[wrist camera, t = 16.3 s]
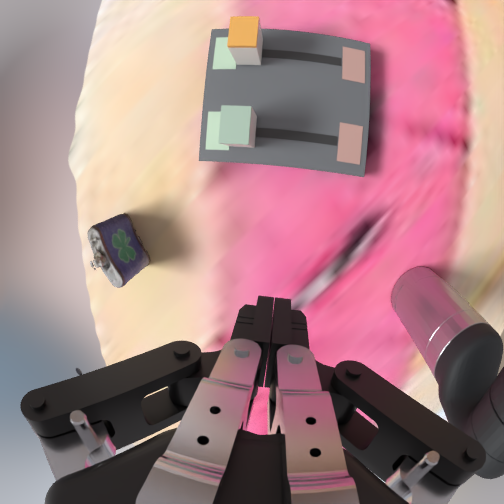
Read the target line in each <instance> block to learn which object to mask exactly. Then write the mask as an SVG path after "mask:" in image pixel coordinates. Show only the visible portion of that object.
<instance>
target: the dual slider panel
mask: <svg viewBox="0 0 504 504" xmlns="http://www.w3.org/2000/svg"><path fill="white" fill-rule="evenodd" d="M261 31H262V37H263V45H262V57H261V65H237V64H236V62H235V60H234V58H233V56H232V54H231V52H230V50H229V48H228V47H227V42H228V34H229V29H212V32H211V39H210V46H209V54H208V62H207V71H206V80H205V90H204V100H203V111H202V123H201V136H200V151H199V161H217V162H236V163H251V164H263V165H275V166H285V167H294V168H303V169H312V170H320V171H327V172H334V173H341V174H348V175H354V176H360V177H364V173H365V164H366V154H367V142H368V129H369V111H370V75H371V63H370V44H369V43H365V42H360V41H356V40H351V39H346V38H341V37H335V36H330V35H323V34H316V33H309V32H300V31H290V30H276V29H261ZM221 105H230V106H251V107H252V108H253V110H254V112H255V114H256V115H257V123H256V135H255V148H251V147H234V146H227V145H223V144H219V143H218V142H219V128H220V116H221Z"/></svg>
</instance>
